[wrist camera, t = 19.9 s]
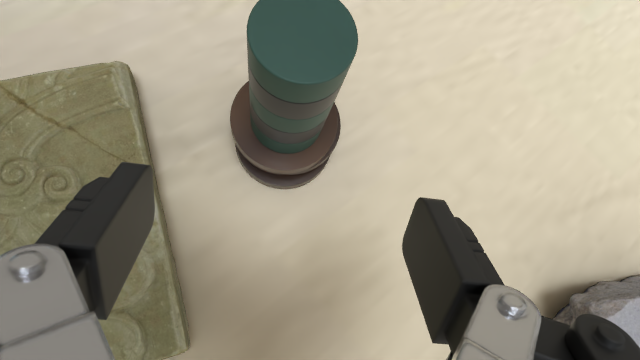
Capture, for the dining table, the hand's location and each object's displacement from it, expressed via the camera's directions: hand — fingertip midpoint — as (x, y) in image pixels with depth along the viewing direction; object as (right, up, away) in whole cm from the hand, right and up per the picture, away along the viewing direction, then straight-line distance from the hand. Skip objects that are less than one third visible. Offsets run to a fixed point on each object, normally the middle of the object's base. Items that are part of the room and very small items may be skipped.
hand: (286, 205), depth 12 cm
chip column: (-1, +5, +14) cm, 15 cm away
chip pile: (-2, +4, +18) cm, 19 cm away
